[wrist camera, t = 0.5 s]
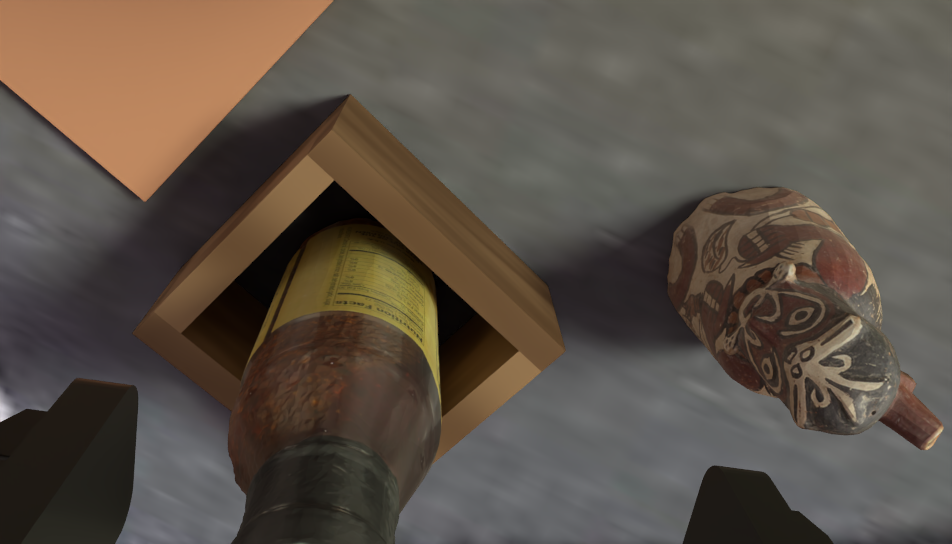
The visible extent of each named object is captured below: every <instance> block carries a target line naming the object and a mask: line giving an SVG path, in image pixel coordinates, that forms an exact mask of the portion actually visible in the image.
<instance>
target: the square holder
mask: <svg viewBox="0 0 952 544" xmlns="http://www.w3.org/2000/svg"><path fill="white" fill-rule="evenodd" d="M334 180H335V181H336V182H337V183H338V184H339V185H340V186H341V187H342V188H344V189H345V190H346V191H347V192H348V193H349V194H350V195H351V196H352V197H353V198H354V199H355V200H357V201H358V202H359V203H360V204H361V205H362V206H363V207H364V208H365V209H366V210H367V211H368V212H369V213H371V214H372V215H373V216H374V217H375V218H376V219H377V220H378V221H379V222H380V223H381V224H382V225H384V226H385V227H386V228H387V229H388V230H389V231H390V232H391V233H392V234H393V235H394V236H395V237H396V238H398V239H399V240H400V241H401V242H402V243H403V244H404V245H405V246H406V247H407V248H408V249H409V250H411V251H412V252H413V253H414V254H415V255H416V256H417V257H418V258H419V259H420V260H421V261H422V262H423V263H425V264H426V265H427V266H428V267H429V268H430V269H431V270H432V271H433V272H434V273H435V274H436V275H438V276H439V277H440V278H441V279H442V280H443V281H444V282H445V283H446V284H447V285H448V286H449V287H451V288H452V289H453V290H454V291H455V292H456V293H457V294H458V295H459V296H460V297H461V298H462V299H463V300H465V301H466V302H467V303H468V304H469V305H470V306H471V307H472V308H473V309H474V310H475V311H476V312H478V313H477V314H476V315H475V316H473V317H472V318H471V319H470V320H469V321H468V322H467V323H466V324H464V325H463V326H462V327H461V328H460V329H459V330H458V331H457V332H456V333H454V334H453V335H452V336H451V337H450V338H449V339H448V340H447V341H445V342H444V343H443V344H442V345H441V346H440V347H439V369H440V392H441V416H442V425H441V436H440V442H439V447H438V450H437V453H436V456H435V459H434V461H433V463H434V462H436V461H437V460H438V459H439V458H440V457H441V456H443V455H444V454H445V453H446V452H447V451H449V450H450V449H451V448H452V447H453V446H454V445H456V444H457V443H458V442H459V441H460V440H462V439H463V438H464V437H465V436H466V435H467V434H469V433H470V432H471V431H472V430H473V429H474V428H476V427H477V426H478V425H479V424H480V423H482V422H483V421H484V420H485V419H486V418H487V417H489V416H490V415H491V414H492V413H493V412H495V411H496V410H497V409H498V408H499V407H500V406H502V405H503V404H504V403H505V402H506V401H507V400H509V399H510V398H511V397H512V396H513V395H515V394H516V393H517V392H518V391H519V390H520V389H522V388H523V387H524V386H525V385H526V384H528V383H529V382H530V381H531V380H532V379H533V378H535V377H536V376H537V375H538V374H539V373H541V372H542V371H543V370H544V369H545V368H546V367H548V366H549V365H550V364H551V363H552V362H553V361H555V360H556V359H557V358H558V357H559V356H561V355H562V354H563V353H564V352H565V351H566V350H565V346H564V342H563V339H562V335H561V332H560V328H559V324H558V321H557V317H556V314H555V310H554V306H553V303H552V299H551V296H550V292H549V288H548V285H546V284H545V283H544V282H543V281H542V280H541V279H540V278H539V277H538V276H537V275H536V274H535V273H534V272H533V271H532V270H531V269H530V268H529V267H528V266H527V265H526V264H525V263H524V262H523V261H522V260H521V259H520V258H519V257H518V256H517V255H516V254H515V253H514V252H513V251H511V250H510V249H509V248H508V247H507V246H506V245H505V244H504V243H503V242H502V241H501V240H500V239H499V238H498V237H497V236H496V235H495V234H494V233H493V232H492V231H491V230H490V229H489V228H488V227H487V226H486V225H485V224H484V223H483V222H482V221H481V220H480V219H479V218H478V217H476V216H475V215H474V214H473V213H472V212H471V211H470V210H469V209H468V208H467V207H466V206H465V205H464V204H463V203H462V202H461V201H460V200H459V199H458V198H457V197H456V196H455V195H454V194H453V193H452V192H451V191H450V190H449V189H448V188H447V187H446V186H445V185H444V184H443V183H441V182H440V181H439V180H438V179H437V178H436V177H435V176H434V175H433V174H432V173H431V172H430V171H429V170H428V169H427V168H426V167H425V166H424V165H423V164H422V163H421V162H420V161H419V160H418V159H417V158H416V157H415V156H414V155H413V154H412V153H411V152H410V151H409V150H408V149H406V148H405V147H404V146H403V145H402V144H401V143H400V142H399V141H398V140H397V139H396V138H395V137H394V136H393V135H392V134H391V133H390V132H389V131H388V130H387V129H386V128H385V127H384V126H383V125H382V124H381V123H380V122H379V121H378V120H377V119H376V118H375V117H374V116H373V115H371V114H370V113H369V112H368V111H367V110H366V109H365V108H364V107H363V106H362V105H361V104H360V103H359V102H358V101H357V100H356V99H355V98H354V97H353V96H352V95H351V94H350V95H349V96H348V97H347V98H346V99H345V100H344V101H343V102H342V103H341V104H340V105H339V106H338V107H337V108H336V109H335V111H334V112H333V113H332V114H331V115H330V116H329V117H328V118H327V119H326V120H325V121H324V122H323V123H322V124H321V125H320V126H319V127H318V128H317V129H316V130H315V131H314V132H313V133H312V134H311V135H310V136H309V137H308V138H307V139H306V140H305V141H304V142H303V143H302V144H301V145H300V146H299V147H298V148H297V149H296V151H295V152H294V153H293V154H292V155H291V156H290V157H289V158H288V159H287V160H286V161H285V162H284V163H283V164H282V165H281V166H280V167H279V168H278V169H277V170H276V171H275V172H274V173H273V174H272V175H271V176H270V177H269V178H268V179H267V180H266V181H265V182H264V183H263V184H262V185H261V186H260V187H259V188H258V190H257V191H256V192H255V193H254V194H253V195H252V196H251V197H250V198H249V199H248V200H247V201H246V202H245V203H244V204H243V205H242V206H241V207H240V208H239V209H238V210H237V211H236V212H235V213H234V214H233V215H232V216H231V217H230V218H229V219H228V220H227V221H226V222H225V223H224V224H223V225H222V226H221V227H220V229H219V230H218V231H217V232H216V233H215V234H214V235H213V236H212V237H211V238H210V239H209V240H208V241H207V242H206V243H205V244H204V245H203V246H202V247H201V248H200V249H199V250H198V251H197V252H196V253H195V254H194V255H193V256H192V257H191V258H190V259H189V260H188V261H187V262H186V263H185V264H184V265H183V266H182V267H181V269H180V270H179V271H178V272H177V274H176V275H175V276H174V278H173V279H172V280H171V282H170V283H169V284H168V286H167V287H166V288H165V290H164V291H163V292H162V294H161V295H160V296H159V298H158V299H157V301H156V302H155V303H154V305H153V306H152V307H151V309H150V310H149V311H148V313H147V314H146V315H145V317H144V318H143V319H142V321H141V322H140V323H139V325H138V326H137V327H136V329H135V330H134V331H133V333H132V334H133V335H135V336H136V337H137V338H139V339H140V340H141V341H142V342H144V343H145V344H146V345H148V346H149V347H150V348H151V349H153V350H154V351H155V352H156V353H158V354H159V355H160V356H162V357H163V358H164V359H165V360H167V361H168V362H169V363H170V364H172V365H173V366H174V367H176V368H177V369H178V370H179V371H181V372H182V373H183V374H184V375H186V376H187V377H188V378H190V379H191V380H192V381H193V382H195V383H196V384H197V385H199V386H200V387H201V388H202V389H204V390H205V391H206V392H207V393H209V394H210V395H211V396H213V397H214V398H215V399H216V400H218V401H219V402H220V403H221V404H223V405H224V406H225V407H227V408H228V409H229V410H230V411H232V410H233V406H234V403H235V402H236V399H237V397H238V395H239V392H240V384H241V380H242V376H243V373H244V370H245V367H246V365H247V362H248V360H249V357H250V355H251V352H252V350H253V348H254V345H255V343H256V340H257V338H258V335H259V333H260V331H261V328H262V326H263V323H264V321H265V318H266V316H267V313H268V311H269V310H268V309H267V308H266V307H265V306H264V305H263V304H261V303H260V302H259V301H258V300H257V299H255V298H254V297H253V296H252V295H251V294H249V293H248V292H247V291H246V290H245V289H244V288H242V287H241V286H240V285H239V284H238V283H236V282H235V281H234V280H235V279H236V278H237V277H238V276H239V275H240V274H241V273H242V272H243V271H244V270H245V269H246V268H247V267H248V266H249V265H250V264H251V263H252V262H253V261H254V260H255V259H256V258H257V257H258V256H259V255H260V254H261V253H262V252H263V251H264V250H265V249H266V248H267V247H268V246H269V245H270V244H271V243H272V242H273V241H274V240H275V239H276V238H277V237H278V236H279V235H280V234H281V233H282V232H283V231H284V230H285V229H286V228H287V227H288V226H289V225H290V224H291V223H292V222H293V221H294V220H295V219H296V218H297V217H298V216H299V215H300V214H301V213H302V212H303V211H304V210H305V209H306V208H307V207H308V206H309V205H310V204H311V203H312V202H313V201H314V200H315V199H316V198H317V197H318V196H319V195H320V194H321V193H322V192H323V191H324V190H325V189H326V188H327V187H328V186H329V185H330V184H331V183H332V182H333V181H334ZM433 463H432V464H433Z"/></svg>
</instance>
